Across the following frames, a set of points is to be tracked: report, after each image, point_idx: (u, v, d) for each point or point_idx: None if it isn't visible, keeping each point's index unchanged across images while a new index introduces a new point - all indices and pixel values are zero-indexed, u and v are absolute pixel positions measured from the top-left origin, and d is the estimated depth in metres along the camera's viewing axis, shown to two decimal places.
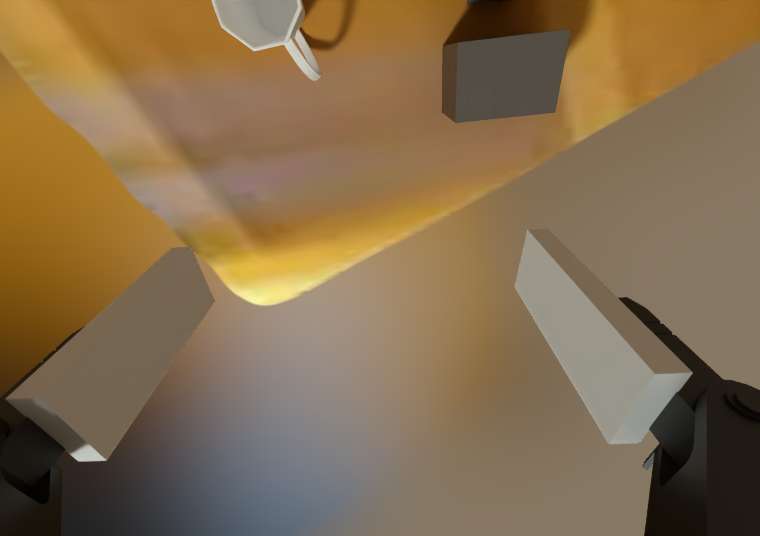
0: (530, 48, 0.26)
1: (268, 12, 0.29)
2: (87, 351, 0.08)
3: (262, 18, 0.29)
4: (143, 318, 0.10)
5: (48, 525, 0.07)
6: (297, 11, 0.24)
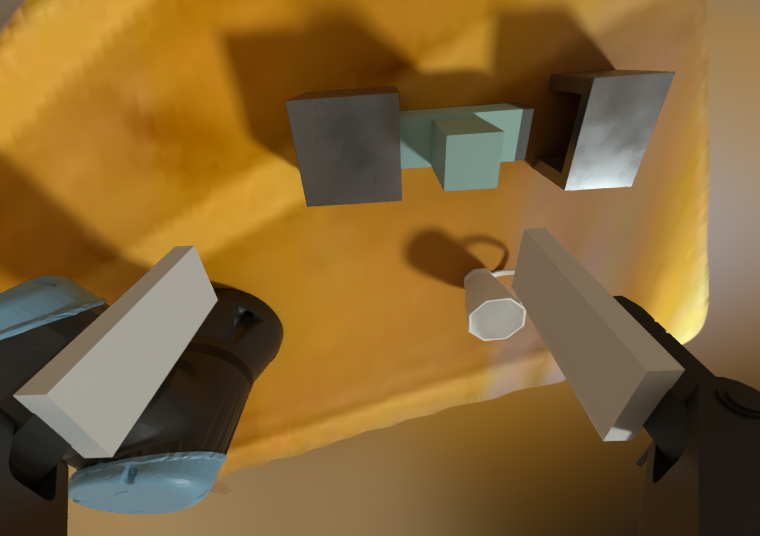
0: (595, 119, 0.26)
1: None
2: (93, 348, 0.08)
3: None
4: (148, 316, 0.10)
5: (54, 521, 0.07)
6: (511, 300, 0.35)
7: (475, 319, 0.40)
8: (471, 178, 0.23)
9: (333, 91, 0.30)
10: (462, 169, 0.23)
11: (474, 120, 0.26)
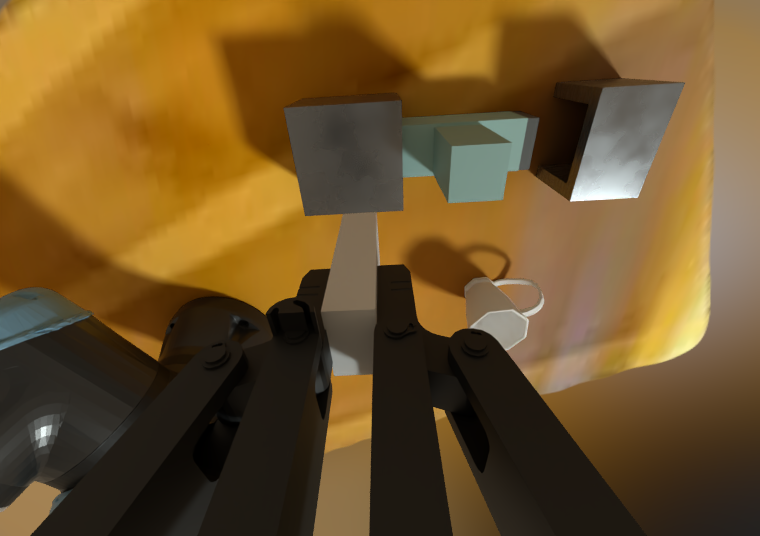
0: (602, 129, 0.25)
1: None
2: (352, 282, 0.10)
3: None
4: None
5: (321, 439, 0.08)
6: (514, 312, 0.34)
7: None
8: (476, 190, 0.23)
9: (333, 97, 0.29)
10: (467, 181, 0.22)
11: (479, 129, 0.25)
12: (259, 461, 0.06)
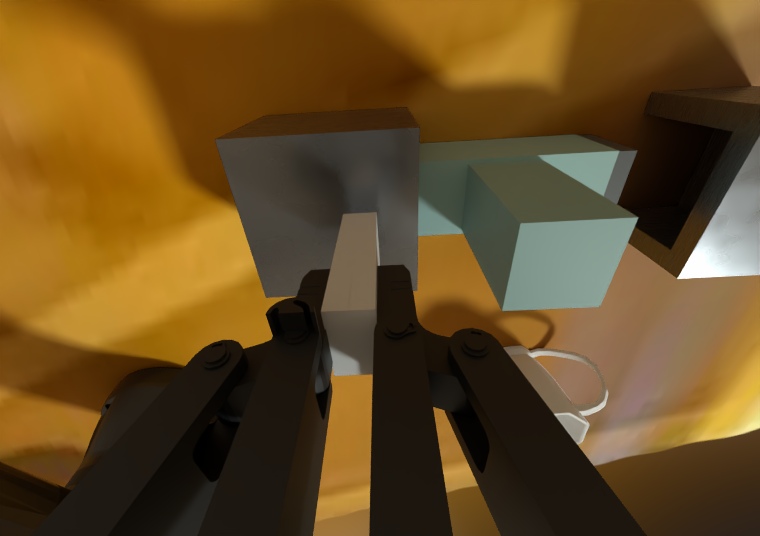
0: (757, 175, 0.15)
1: None
2: (352, 282, 0.10)
3: None
4: None
5: (321, 439, 0.08)
6: (570, 415, 0.24)
7: None
8: (556, 293, 0.13)
9: (310, 114, 0.19)
10: (542, 279, 0.12)
11: (547, 173, 0.15)
12: (259, 461, 0.06)
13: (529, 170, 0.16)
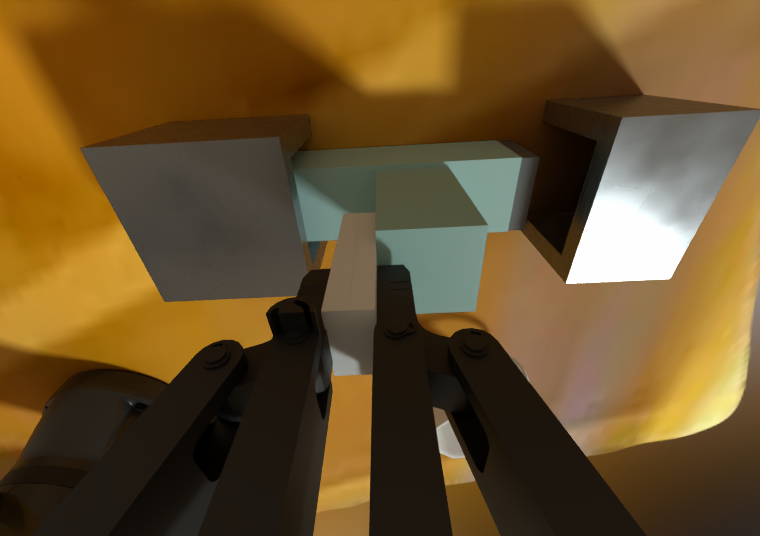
0: (619, 183, 0.15)
1: None
2: (352, 282, 0.10)
3: None
4: None
5: (321, 439, 0.08)
6: None
7: None
8: (428, 297, 0.13)
9: (210, 121, 0.19)
10: None
11: (440, 180, 0.15)
12: (259, 461, 0.06)
13: (427, 176, 0.16)
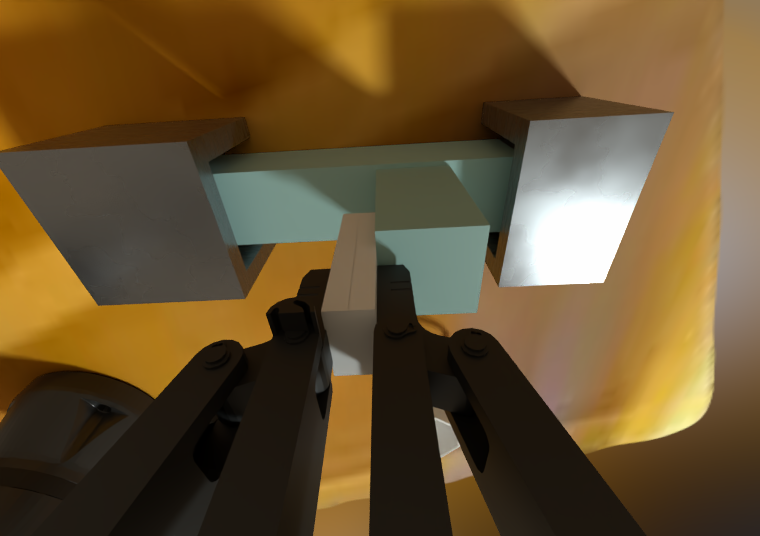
0: (538, 187, 0.15)
1: None
2: (352, 282, 0.10)
3: None
4: None
5: (321, 439, 0.08)
6: (438, 420, 0.25)
7: None
8: (429, 299, 0.13)
9: (144, 124, 0.19)
10: None
11: (441, 179, 0.15)
12: (259, 461, 0.06)
13: (427, 176, 0.16)
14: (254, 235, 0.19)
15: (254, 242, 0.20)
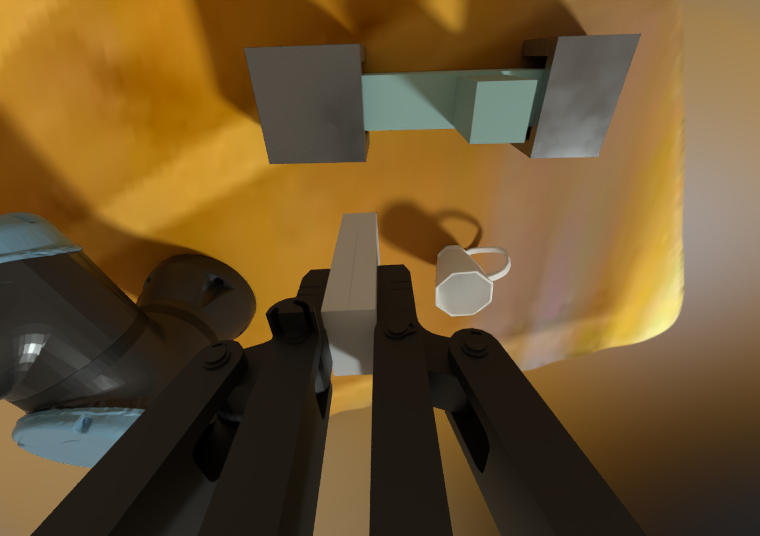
0: (560, 82, 0.25)
1: None
2: (352, 283, 0.10)
3: (457, 273, 0.43)
4: None
5: (321, 439, 0.08)
6: (478, 274, 0.35)
7: (444, 295, 0.40)
8: (499, 131, 0.23)
9: None
10: (490, 120, 0.22)
11: (502, 76, 0.25)
12: (259, 461, 0.06)
13: None
14: (370, 123, 0.30)
15: (369, 129, 0.30)
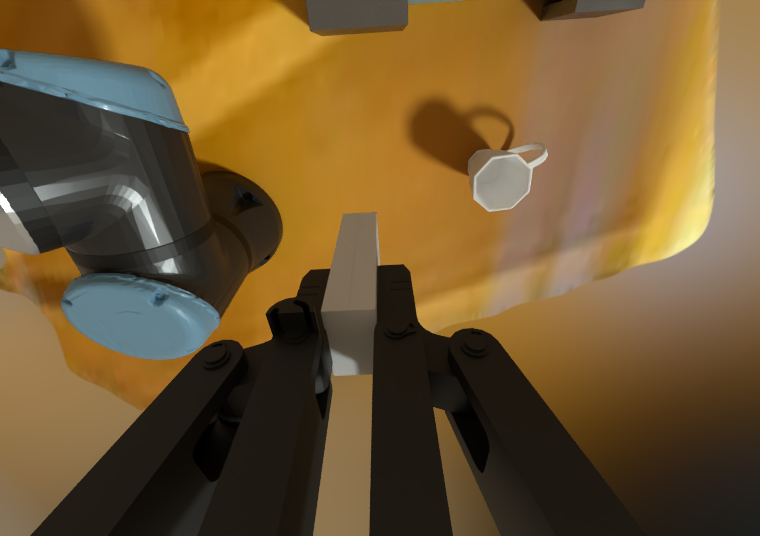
0: None
1: (486, 174, 0.42)
2: (351, 282, 0.10)
3: (488, 179, 0.43)
4: None
5: (321, 439, 0.08)
6: (518, 157, 0.34)
7: (479, 194, 0.39)
8: None
9: None
10: None
11: None
12: (259, 461, 0.06)
13: None
14: None
15: None
